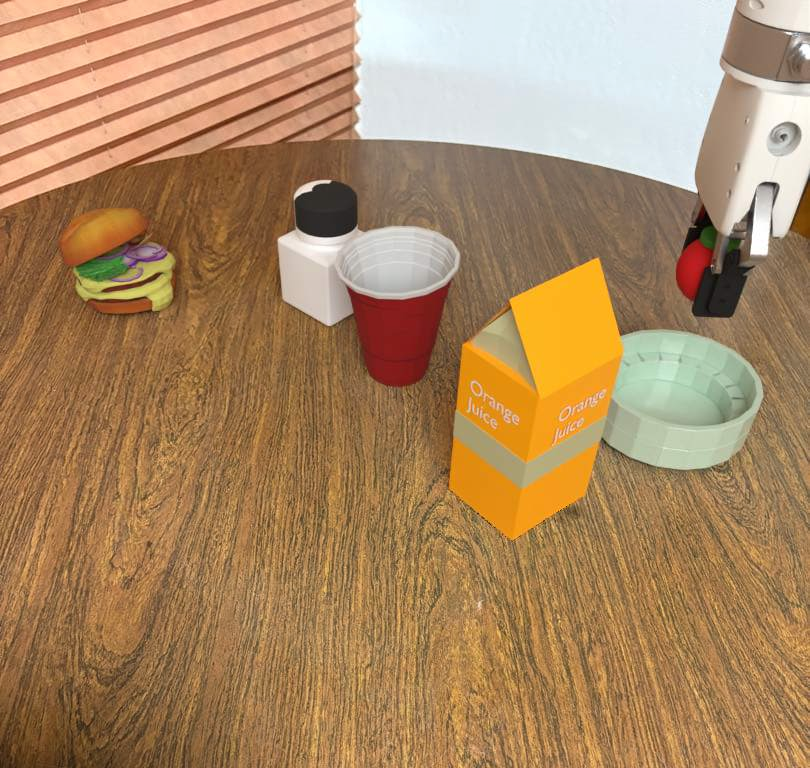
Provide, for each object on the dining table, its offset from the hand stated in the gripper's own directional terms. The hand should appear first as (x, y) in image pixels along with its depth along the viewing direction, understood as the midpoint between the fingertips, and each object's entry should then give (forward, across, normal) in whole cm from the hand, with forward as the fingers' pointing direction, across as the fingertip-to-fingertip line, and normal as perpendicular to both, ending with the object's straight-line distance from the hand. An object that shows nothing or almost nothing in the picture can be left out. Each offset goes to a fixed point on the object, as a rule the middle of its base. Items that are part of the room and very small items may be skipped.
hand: (703, 292), depth 69 cm
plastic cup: (+13, +6, +25) cm, 29 cm away
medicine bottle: (+13, +17, +32) cm, 38 cm away
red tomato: (+1, 0, 0) cm, 1 cm away
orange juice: (+13, -10, +14) cm, 22 cm away
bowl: (+13, 0, 0) cm, 13 cm away
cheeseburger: (+13, +17, +53) cm, 57 cm away
